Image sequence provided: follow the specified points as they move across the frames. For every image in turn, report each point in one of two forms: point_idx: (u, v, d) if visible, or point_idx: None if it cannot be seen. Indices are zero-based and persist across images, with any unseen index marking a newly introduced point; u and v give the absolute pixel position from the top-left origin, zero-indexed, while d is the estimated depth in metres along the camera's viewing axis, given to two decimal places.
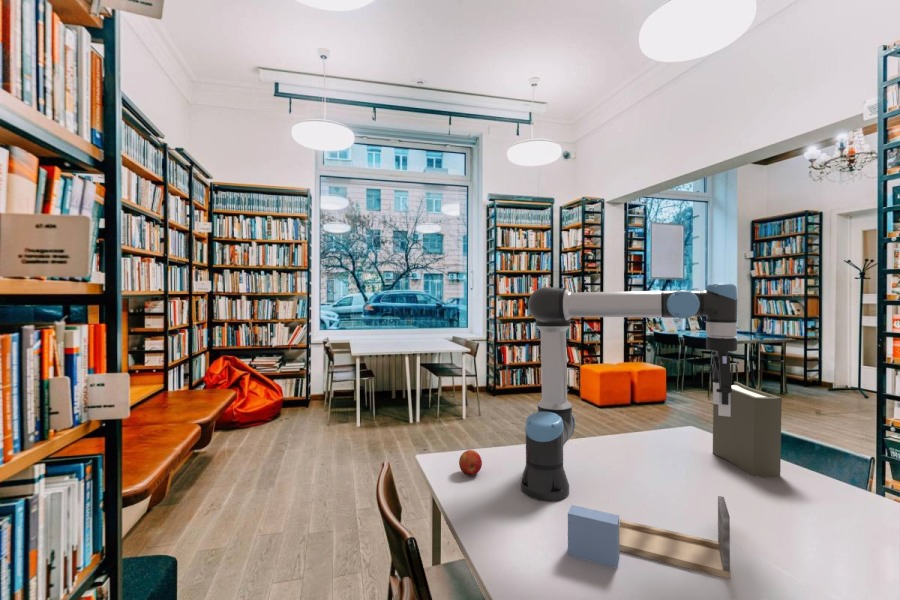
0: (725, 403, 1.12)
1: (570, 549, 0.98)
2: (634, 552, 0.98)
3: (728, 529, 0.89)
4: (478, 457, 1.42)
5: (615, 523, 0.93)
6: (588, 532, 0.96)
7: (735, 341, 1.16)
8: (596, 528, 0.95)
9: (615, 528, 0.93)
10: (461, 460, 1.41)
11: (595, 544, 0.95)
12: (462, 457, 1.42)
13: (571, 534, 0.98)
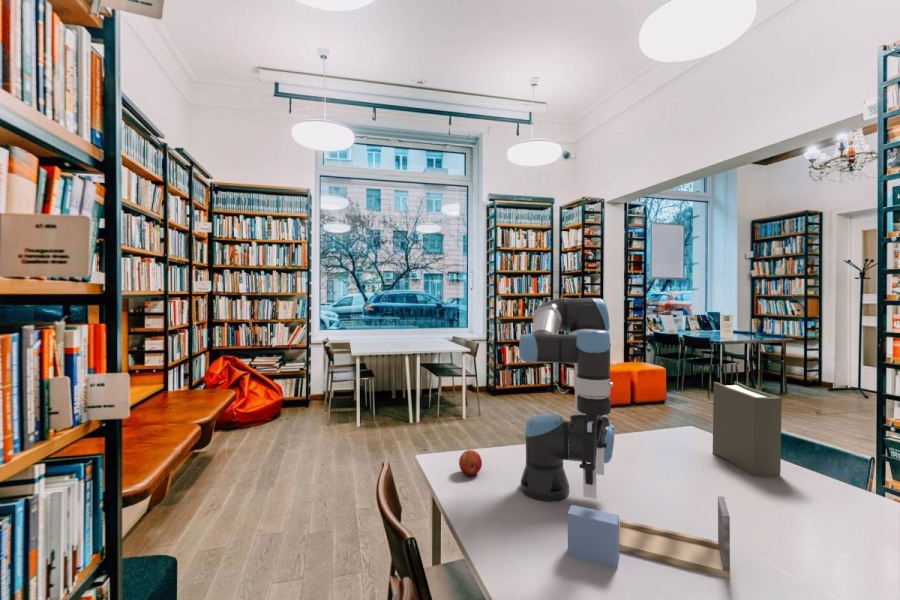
0: (589, 482, 0.90)
1: (570, 549, 0.98)
2: (634, 552, 0.98)
3: (728, 529, 0.89)
4: (478, 457, 1.42)
5: (615, 523, 0.93)
6: (588, 532, 0.96)
7: (606, 402, 0.94)
8: (596, 528, 0.95)
9: (615, 528, 0.93)
10: (461, 460, 1.41)
11: (595, 544, 0.95)
12: (462, 457, 1.42)
13: (571, 534, 0.98)
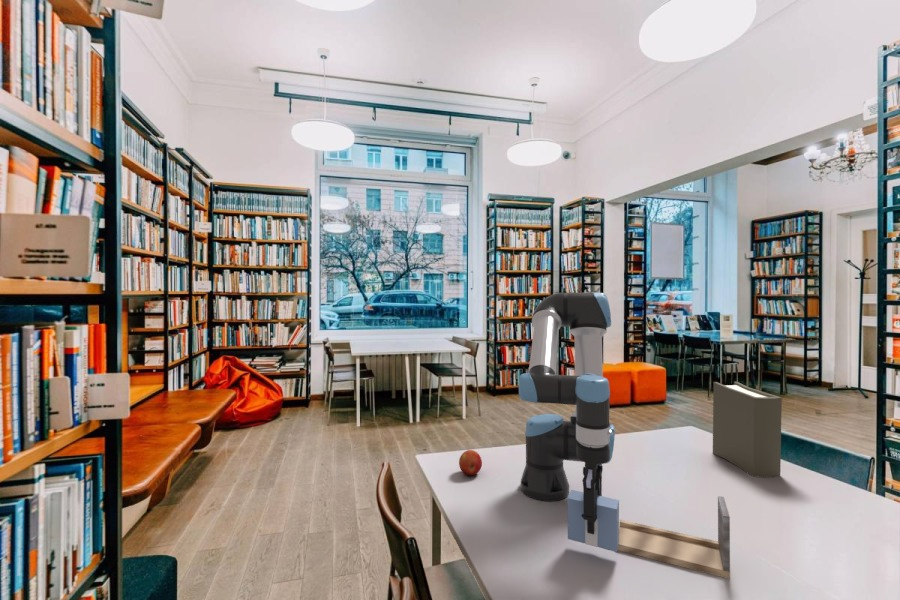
0: (590, 532, 0.94)
1: (570, 533, 0.98)
2: (634, 552, 0.98)
3: (728, 529, 0.89)
4: (478, 457, 1.42)
5: (615, 508, 0.94)
6: None
7: (605, 451, 0.94)
8: None
9: (615, 512, 0.93)
10: (461, 460, 1.41)
11: None
12: (462, 457, 1.42)
13: (571, 518, 0.98)
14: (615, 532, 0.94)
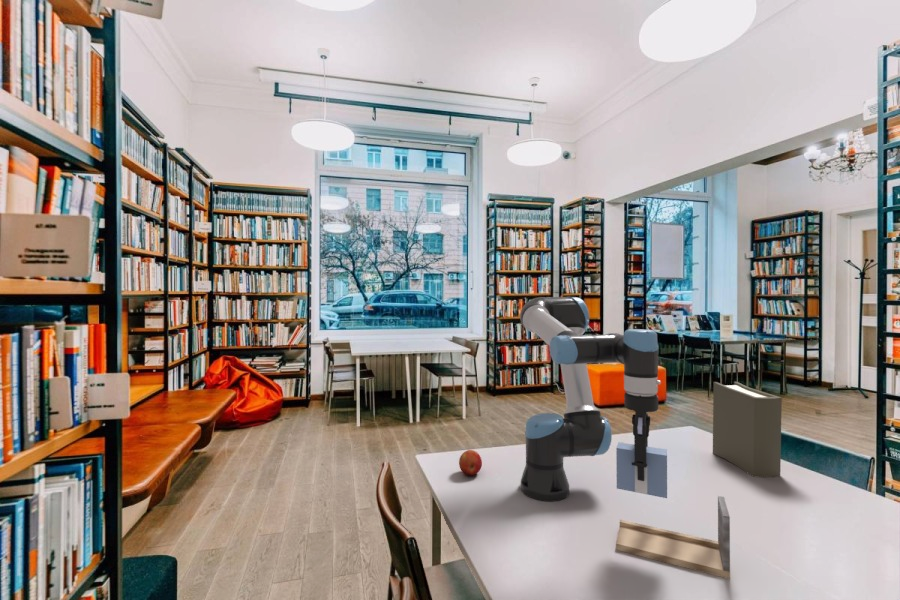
0: (641, 479, 0.97)
1: (619, 482, 1.01)
2: (634, 552, 0.98)
3: (728, 529, 0.89)
4: (478, 457, 1.42)
5: (664, 454, 0.97)
6: None
7: (655, 400, 0.97)
8: None
9: (665, 459, 0.96)
10: (461, 460, 1.41)
11: None
12: (462, 457, 1.42)
13: (620, 468, 1.01)
14: (665, 478, 0.96)
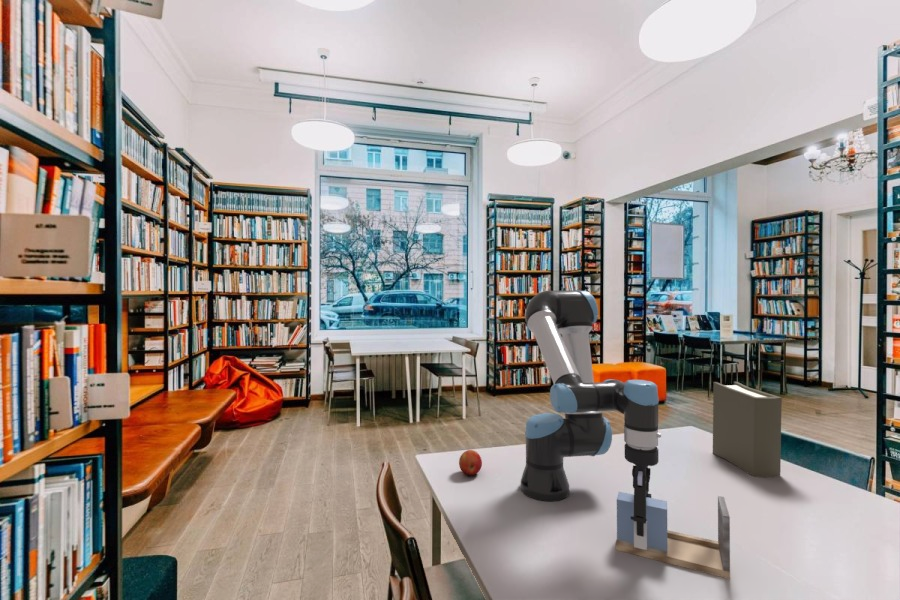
0: (640, 534, 0.94)
1: (619, 533, 1.01)
2: (634, 552, 0.98)
3: (728, 529, 0.89)
4: (478, 457, 1.42)
5: (665, 508, 0.97)
6: None
7: (655, 453, 0.97)
8: None
9: (665, 513, 0.96)
10: (461, 460, 1.41)
11: None
12: (462, 457, 1.42)
13: (621, 519, 1.01)
14: (665, 532, 0.96)
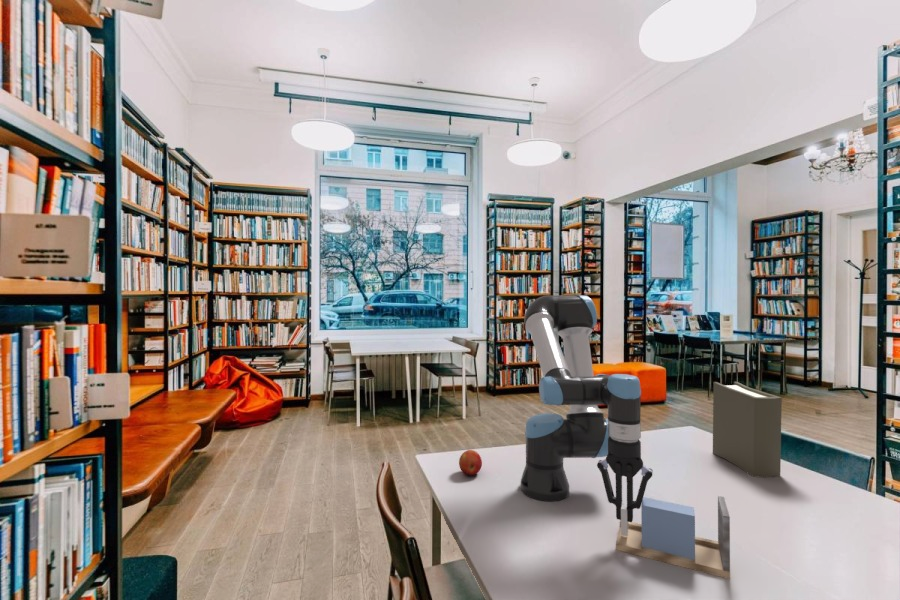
0: None
1: (644, 540, 0.98)
2: (634, 552, 0.98)
3: (728, 529, 0.89)
4: (478, 457, 1.42)
5: (692, 515, 0.94)
6: (663, 523, 0.96)
7: (613, 444, 1.00)
8: (672, 519, 0.95)
9: (692, 519, 0.93)
10: (461, 460, 1.41)
11: (671, 535, 0.95)
12: (462, 457, 1.42)
13: (646, 526, 0.98)
14: (693, 539, 0.93)
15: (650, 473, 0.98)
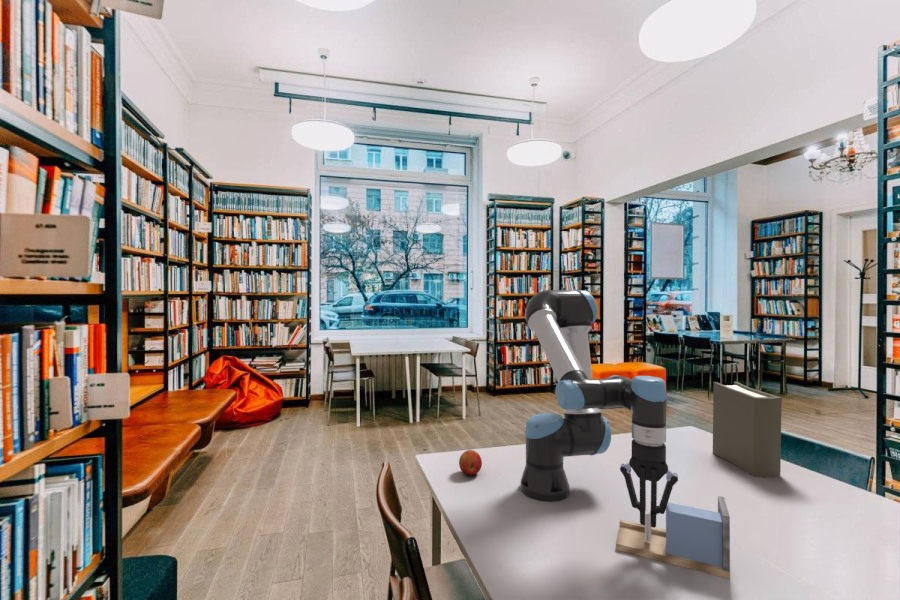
0: None
1: (668, 547, 0.96)
2: (634, 552, 0.98)
3: (728, 529, 0.89)
4: (478, 457, 1.42)
5: (719, 521, 0.91)
6: (689, 530, 0.94)
7: (638, 448, 0.98)
8: (698, 525, 0.93)
9: (720, 526, 0.91)
10: (461, 460, 1.41)
11: (697, 542, 0.93)
12: (462, 457, 1.42)
13: (670, 532, 0.95)
14: (720, 546, 0.91)
15: (676, 478, 0.96)
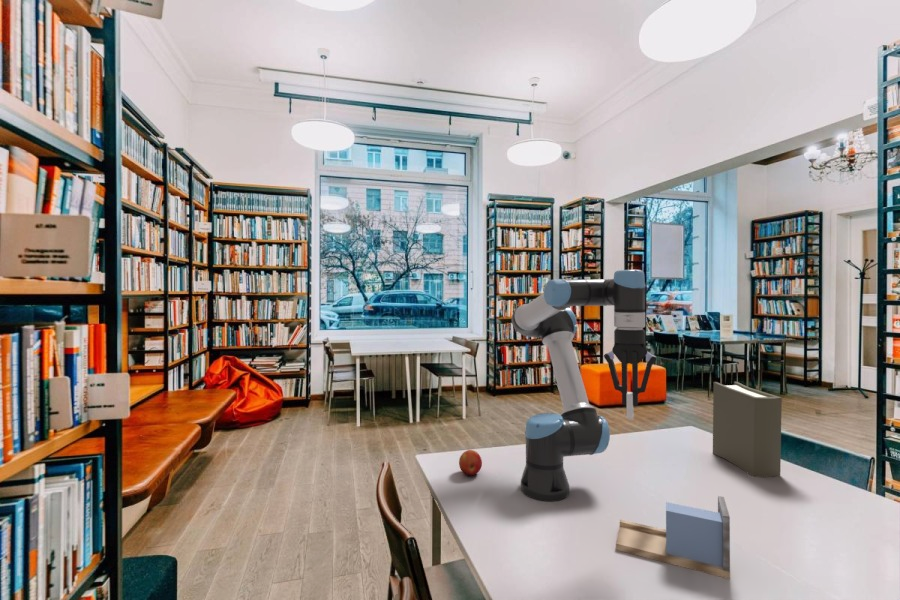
0: None
1: (669, 547, 0.95)
2: (634, 552, 0.98)
3: (728, 529, 0.89)
4: (478, 457, 1.42)
5: (719, 521, 0.91)
6: (689, 530, 0.94)
7: (620, 333, 1.07)
8: (698, 525, 0.93)
9: (720, 526, 0.91)
10: (461, 460, 1.41)
11: (697, 542, 0.93)
12: (462, 457, 1.42)
13: (670, 532, 0.95)
14: (720, 546, 0.91)
15: (654, 357, 1.05)
